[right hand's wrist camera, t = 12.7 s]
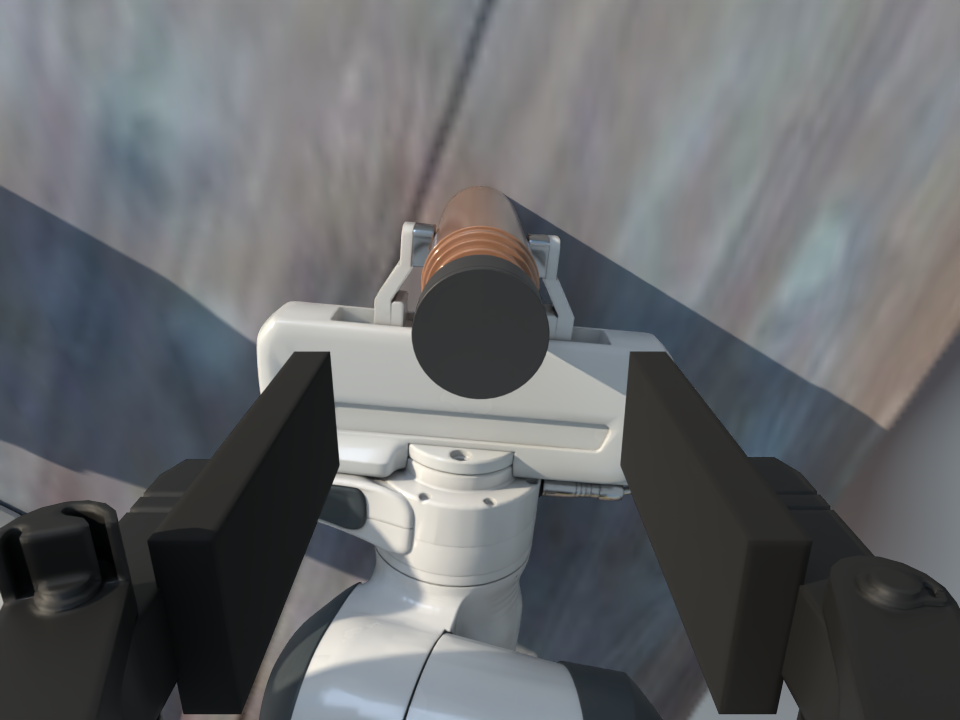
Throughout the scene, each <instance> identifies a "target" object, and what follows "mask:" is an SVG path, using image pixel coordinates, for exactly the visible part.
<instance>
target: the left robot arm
mask: <svg viewBox="0 0 960 720" xmlns="http://www.w3.org/2000/svg"><path fill="white" fill-rule="evenodd" d="M435 234H436V225H433V224H424V223H416V222H405V223H404V225H403V230H402V238H401V257H400V260H399V262H398V263H397V265H396V266H395V268H394V269H393V271H392V272H391V274H390V275H389V277H388V278H387V280H386V281H385V283H384V284H383V286H382V287H381V289H380V291H379V293H378V294H377V296H376V298H375V303H374V308H365V307H354V306H343V305H332V304H320V303H309V302H299V301H291V302H288V303H286V304H284V305H283V306H282V307H281V308H279V309H278V310H277V311H276V312H275V313H273V314H272V315H271V316H270V317H269V319H268V320H267V321H266V322H265V323H264V325H263V326H262V328H261V329H260V331H259V334H258V338H257V366H258V378H259V386H260V394H262V392H263V391H264V390H265V388H266V387H267V386H268V385H269V383H270V382H271V381H272V379H273V378H274V377H275V376H276V374H277V373H278V372H279V370H280V369H281V368H282V367H283V365H284V364H285V363H286V361H287V360H288V359H289V358H290V356H291V355H292V354H293V352H294V351H330V355H331V367H332V379H333V390H334V402H335V414H336V426H337V438H338V449H339V461H340V466H339V469H338V471H337V474H336V476H335V479H334V481H333V484H332V486H331V489H330V491H329V494H328V496H327V499H326V501H325V504H324V506H323V509H322V512H321V514H320V517H319V519H318V522H320V523H323V524H325V525H328V526H331V527H334V528H336V529H339V530H341V531H344V532H346V533H349V534H351V535H354V536H356V537H358V538H361V539H363V540H365V541H367V542H369V543H371V544H373V545H374V548H375V552H376V565H375V569H374V572H373V574H372V576H371V578H370V580H369V581H368V582H366V583H363V584H362V583H361V582H358V583H356V584H354V585H353V586H351V587H349V588H348V589H346V590H345V591H343V592H342V593H341V594H339V595H338V596H337V597H335V598H334V599H333V600H332V601H330V602H329V603H328V604H327V605H325V606H324V607H323V608H322V609H320V610H319V611H318V612H316V613H315V614H314V615H313V616H311V617H310V618H309V619H308V620H307V621H306V622H305V623H304V624H303V625H302V626H301V627H300V628H299V629H298V630H297V631H296V632H295V633H294V635H293V636H292V637H291V639H290V640H289V642H288V643H287V645H286V646H285V648H284V649H283V651H282V653H281V654H280V656H279V658H278V659H277V661H276V663H275V665H274V667H273V669H272V672H271V674H270V677H269V680H268V683H267V686H266V689H265V693H264V697H263V701H262V705H261V711H260V717H259V720H662V718H661V717H660V715H659V714H658V712H657V711H656V710H655V708H654V707H653V705H652V704H651V703H650V701H649V700H648V699H647V698H646V696H645V695H644V694H643V693H642V691H641V690H640V689H639V688H638V686H637V685H636V684H635V683H634V682H633V681H632V680H631V679H630V677H629V676H628V675H627V674H626V673H624V672H619V671H614V670H609V669H603V668H598V667H592V666H587V665H581V664H576V663H570V662H565V661H559V662H557V663H556V662H552V661H549V660H545V659H541V658H538V657H534V656H530V655H527V654H523V653H519V652H516V651H515V650H516V645H517V640H518V634H519V629H520V623H521V616H522V594H521V590H520V585H519V581H520V576H521V574H522V573H523V571H524V569H525V567H526V565H527V563H528V560H529V556H530V553H531V547H532V541H533V534H534V527H535V520H536V513H537V506H538V497H540V496H551V497H564V498H578V497H588V498H597V500H602V501H618V500H622V498H623V495H626V494H631V491H630V489H629V486H628V484H627V481H626V479H625V476H624V474H623V471H622V469H621V466H620V461H621V449H622V438H623V426H624V414H625V402H626V390H627V379H628V367H629V355H630V351H666V352H667V354H668V355H669V356H670V358H671V359H672V360H673V358H672V357H671V355H670V353H669V352H668V350H667V349H666V348H665V346H664V345H663V344H662V343H661V342H660V341H659V340H658V339H657V338H656V337H655V336H654V335H652V334H650V333H645V332H634V331H623V330H611V329H600V328H589V327H578V326H573V324H574V315H573V313H572V310H571V308H570V306H569V303H568V301H567V298H566V296H565V294H564V291H563V289H562V286H561V284H560V282H559V279H558V277H557V269H558V262H559V254H560V239H559V237H558V236H554V235H543V234H530V233H528V234H527V240H528V243H529V246H530V248H531V251H532V254H533V256H534V259H535V262H536V265H537V268H538V272H539V278H542V280H543V282H544V284H545V287H546V289H547V291H548V293H549V296H550V298H551V300H552V303H553V306H552V305H551V304H543V305H544V308H545V311H546V314H547V318H548V322H549V330H550V336H549V345H548V350H547V353H546V356H545V358H544V360H543V363H542V365H541V366H540V368H539V369H538V371H537V372H536V373H535V375H534V376H533V377H532V378H531V379H530V380H529V381H528V382H527V383H526V384H524V385H523V386H521V387H520V388H519V389H517V390H515V391H513V392H511V393H509V394H506V395H504V396H500V397H496V398H491V399H470V398H465V397H460V396H457V395H455V394H452V393H450V392H448V391H446V390H444V389H443V388H441V387H440V386H438V385H437V384H436V383H434V382H433V381H432V380H431V379H430V378H429V377H428V376H427V375H426V373H425V372H424V371H423V369H422V368H421V366H420V365H419V363H418V361H417V358H416V356H415V353H414V350H413V345H412V336H411V331H412V322H413V318H414V314H415V312H410V311H407V310H408V293H407V291H400V290H399V289H400V287H401V286H402V284H403V283H404V281H405V280H406V278H407V277H408V275H409V274H410V272H411V271H412V269H413V268H414V266H416V267H424V264H425V261H426V258H427V256H428V253H429V250H430V247H431V245H432V242H433V239H434V236H435ZM398 290H399V291H398ZM673 361H674V360H673ZM674 363H675V362H674ZM623 485H627V486H628V487H623Z"/></svg>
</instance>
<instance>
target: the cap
mask: <svg viewBox="0 0 960 720" xmlns="http://www.w3.org/2000/svg"><path fill="white" fill-rule="evenodd" d="M411 336H412V345H413V350H414V353H415V356H416V358H417V361H418V363H419V365H420V366H421V368H422V369H423V371H424V372H425V373H426V375H427V376H428V377H429V378H430V379H431V380H432V381H433V382H434V383H436V384H437V385H438V386H440V387H441V388H443V389H444V390H446V391H448V392H450V393H452V394H455V395H457V396H460V397H465V398H470V399H491V398H496V397H500V396H504V395H506V394H509V393H511V392H513V391H515V390H517V389H519V388H520V387H521V386H523V385H524V384H526V383H527V382H528V381H529V380H530V379H531V378H532V377H533V376H534V375H535V373H536V372H537V371H538V369H539V368H540V366H541V365H542V363H543V360H544V358H545V356H546V353H547V350H548V345H549V336H550V330H549V322H548V318H547V314H546V311H545V308H544V305H543V302H542V299H541V296H540V294H539V291H538V289H537V287H536V285H535V284H534V282H533V281H532V279H531V278H530V277H529V276H528V275H527V274H526V273H525V272H524V271H523V270H522V269H521V268H520V267H518V266H517V265H515V264H514V263H512V262H510V261H508V260H505V259H503V258H500V257H496V256H492V255H469V256H464V257H461V258H458V259H455V260H453V261H451V262H449V263H447V264H446V265H444V266H443V267H441V268H440V269H439V270H438V271H436V273H435V274H434V275H433V276H432V277H431V278H430V279H429V281H428V282H427V283H426V285H425V287H424V289H423V291H422V293H421V296H420V299H419V302H418V305H417V308H416V311H415V314H414V318H413V322H412V331H411Z"/></svg>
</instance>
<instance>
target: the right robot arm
mask: <svg viewBox="0 0 960 720" xmlns="http://www.w3.org/2000/svg"><path fill="white" fill-rule="evenodd" d="M339 466H340V461H339V449H338V438H337V426H336V414H335V402H334V390H333V379H332V367H331V355H330V351H294V352H293V354H292V355H291V356H290V358H289V359H288V360H287V361H286V363H285V364H284V365H283V367H282V368H281V369H280V370H279V372H278V373H277V374H276V376H275V377H274V378H273V379H272V381H271V382H270V383H269V385H268V386H267V387H266V388H265V390H264V391H263V392H262V394H261V395H260V396H259V397H258V399H257V400H256V401H255V403H254V404H253V405H252V406H251V408H250V409H249V410H248V412H247V413H246V414H245V415H244V417H243V418H242V419H241V421H240V422H239V423H238V424H237V426H236V427H235V428H234V430H233V431H232V432H231V433H230V435H229V436H228V437H227V439H226V440H225V441H224V442H223V444H222V445H221V446H220V448H219V449H218V450H217V451H216V453H215V454H214V455H213V457H212V458H211V459H186V460H184V461H182V462H181V463H179V464H177V465H176V466H174V467H173V468H171V469H169V470H168V471H166V472H164V473H163V474H161V475H160V476H159V477H158V478H157V479H156V480H155V481H154V482H153V484H152V485H151V486H150V487H149V488H148V489H147V490H146V491H145V493H144V497H140V498H139V499H138V501H137V502H136V503H135V504H134V505H133V506H132V507H131V508H130V513H126V514H125V515H124V516H123V518H122V519H121V520H120V521H119V522H118V518H117V514H116V510H114V509H113V508H111V507H110V506H109V505H107V504H106V503H101V502H95V501H90V500H86V501H71V502H63V503H59V504H55V505H51V506H46V507H42V508H40V509H37V510H35V511H32V512H30V513H27V514H25V515H22V516H20V517H17V518H16V519H14V520H12V521H11V522H9V523H8V524H6V525H4V526H3V527H1V528H0V593H1V597H2V600H3V605H2V607H1V610H0V720H163V717H162V712H161V711H162V709H163V707H164V705H165V703H166V701H167V699H168V697H169V696H170V694H171V692H172V690H173V688H174V686H175V684H176V682H177V685H178V690H179V694H180V699H181V704H182V709H183V713H184V714H241V713H242V710H243V708H244V705H245V703H246V700H247V698H248V695H249V693H250V690H251V688H252V685H253V683H254V680H255V678H256V675H257V673H258V670H259V668H260V665H261V663H262V660H263V658H264V655H265V653H266V650H267V647H268V645H269V642H270V640H271V637H272V635H273V632H274V630H275V627H276V625H277V622H278V620H279V617H280V615H281V612H282V610H283V607H284V605H285V602H286V600H287V597H288V595H289V592H290V590H291V587H292V585H293V582H294V580H295V577H296V574H297V572H298V569H299V567H300V564H301V562H302V559H303V557H304V554H305V552H306V549H307V547H308V544H309V542H310V539H311V537H312V534H313V532H314V529H315V527H316V524H317V522H318V519H319V517H320V514H321V512H322V509H323V506H324V504H325V501H326V499H327V496H328V494H329V491H330V489H331V486H332V484H333V481H334V479H335V476H336V474H337V471H338V469H339ZM620 466H621V469H622V471H623V474H624V476H625V479H626V481H627V484H628V486H629V489H630V491H631V494H632V496H633V499H634V501H635V504H636V506H637V509H638V512H639V514H640V517H641V519H642V522H643V524H644V527H645V529H646V532H647V534H648V537H649V539H650V542H651V544H652V547H653V549H654V552H655V554H656V557H657V559H658V562H659V564H660V567H661V569H662V572H663V574H664V577H665V580H666V582H667V585H668V587H669V590H670V592H671V595H672V597H673V600H674V602H675V605H676V607H677V610H678V612H679V615H680V617H681V620H682V622H683V625H684V627H685V630H686V632H687V635H688V637H689V640H690V642H691V645H692V647H693V650H694V653H695V655H696V658H697V660H698V663H699V665H700V668H701V670H702V673H703V675H704V678H705V680H706V683H707V685H708V688H709V690H710V693H711V695H712V698H713V700H714V703H715V705H716V708H717V710H718V713H719V714H776V713H777V708H778V704H779V699H780V694H781V690H782V685H783V680H784V681H785V683H786V685H787V686H788V688H789V690H790V692H791V694H792V696H793V698H794V699H795V701H796V703H797V705H798V707H799V712H798V717H797V720H960V608H959V606H958V604H957V602H956V601H955V600H954V598H953V597H952V596H951V595H950V593H949V592H948V591H947V590H946V588H945V587H943V586H942V585H941V584H939V583H938V582H936V581H935V580H934V579H932V578H931V577H930V576H928V575H927V574H925V573H923V572H921V571H919V570H917V569H914V568H912V567H910V566H908V565H906V564H904V563H900V562H897V561H893V560H889V559H886V558H882V557H875V556H874V555H873V554H872V553H871V552H870V550H869V549H868V548H867V547H866V546H865V545H864V544H863V543H862V541H861V540H860V539H859V538H858V537H857V536H856V535H855V534H854V532H853V531H852V530H851V529H850V528H849V527H848V526H847V525H846V523H845V522H844V521H843V520H842V519H841V518H840V517H839V516H838V514H837V513H836V512H835V511H834V510H830V505H829V504H828V503H827V502H826V501H825V500H824V499H823V498H822V496H821V495H817V491H816V490H815V489H814V487H813V486H812V485H811V484H810V483H809V482H808V481H807V480H806V478H805V477H804V476H803V475H802V474H801V473H800V472H798V471H797V470H795V469H793V468H792V467H790V466H788V465H787V464H785V463H783V462H782V461H780V460H778V459H777V458H775V457H747V455H746V454H745V453H744V451H743V450H742V449H741V448H740V446H739V445H738V444H737V442H736V441H735V440H734V439H733V437H732V436H731V435H730V433H729V432H728V431H727V430H726V428H725V427H724V426H723V424H722V423H721V422H720V421H719V419H718V418H717V417H716V415H715V414H714V413H713V412H712V410H711V409H710V408H709V406H708V405H707V404H706V403H705V401H704V400H703V399H702V397H701V396H700V395H699V394H698V392H697V391H696V390H695V388H694V387H693V386H692V385H691V383H690V382H689V381H688V379H687V378H686V377H685V376H684V374H683V373H682V372H681V370H680V369H679V368H678V367H677V365H676V364H675V363H674V361H673V360H672V359H671V358H670V356H669V355H668V354H667V352H666V351H630V355H629V367H628V379H627V390H626V402H625V414H624V426H623V438H622V449H621V461H620Z"/></svg>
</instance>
